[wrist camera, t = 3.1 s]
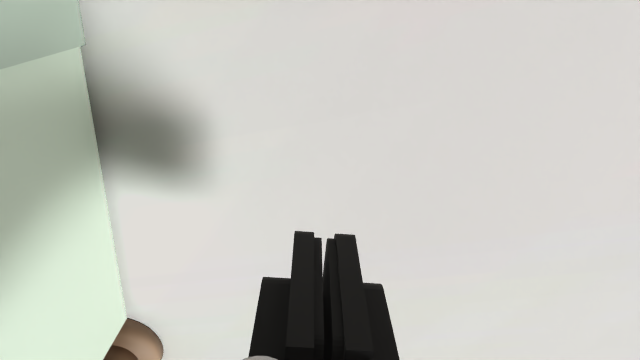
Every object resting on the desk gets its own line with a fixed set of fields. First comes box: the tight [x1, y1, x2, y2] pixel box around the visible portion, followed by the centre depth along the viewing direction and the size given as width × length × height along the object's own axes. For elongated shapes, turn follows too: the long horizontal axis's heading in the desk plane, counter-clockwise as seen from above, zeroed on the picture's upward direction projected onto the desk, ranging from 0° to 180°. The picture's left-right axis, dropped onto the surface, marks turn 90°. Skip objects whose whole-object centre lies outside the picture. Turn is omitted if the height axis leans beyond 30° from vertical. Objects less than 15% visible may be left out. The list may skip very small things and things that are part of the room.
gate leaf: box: [0, 0, 127, 360], centre depth 13 cm, size 14×2×8 cm, turn 175°
